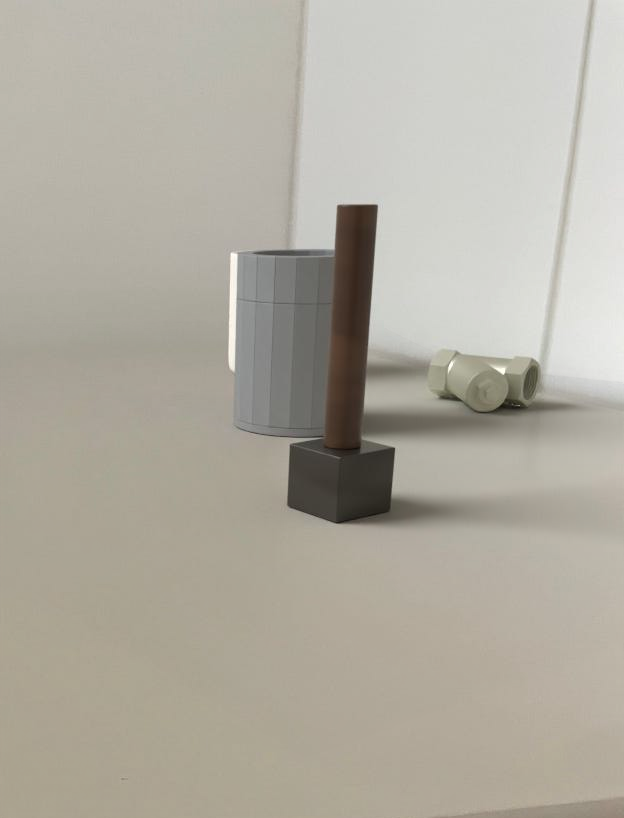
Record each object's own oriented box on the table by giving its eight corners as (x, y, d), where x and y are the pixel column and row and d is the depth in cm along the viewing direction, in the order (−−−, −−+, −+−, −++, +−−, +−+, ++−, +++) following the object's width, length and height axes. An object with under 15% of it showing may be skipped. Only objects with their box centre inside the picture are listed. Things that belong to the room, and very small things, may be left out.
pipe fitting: (499, 422, 81) (537, 402, 86) (503, 370, 80) (542, 353, 84) (405, 409, 86) (446, 391, 91) (407, 360, 85) (449, 344, 89)
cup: (331, 408, 85) (340, 247, 80) (382, 432, 77) (396, 255, 72) (217, 414, 83) (220, 250, 78) (257, 440, 75) (263, 258, 70)
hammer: (339, 494, 61) (358, 203, 55) (390, 510, 58) (416, 204, 52) (286, 506, 59) (299, 204, 53) (336, 523, 56) (356, 205, 50)
